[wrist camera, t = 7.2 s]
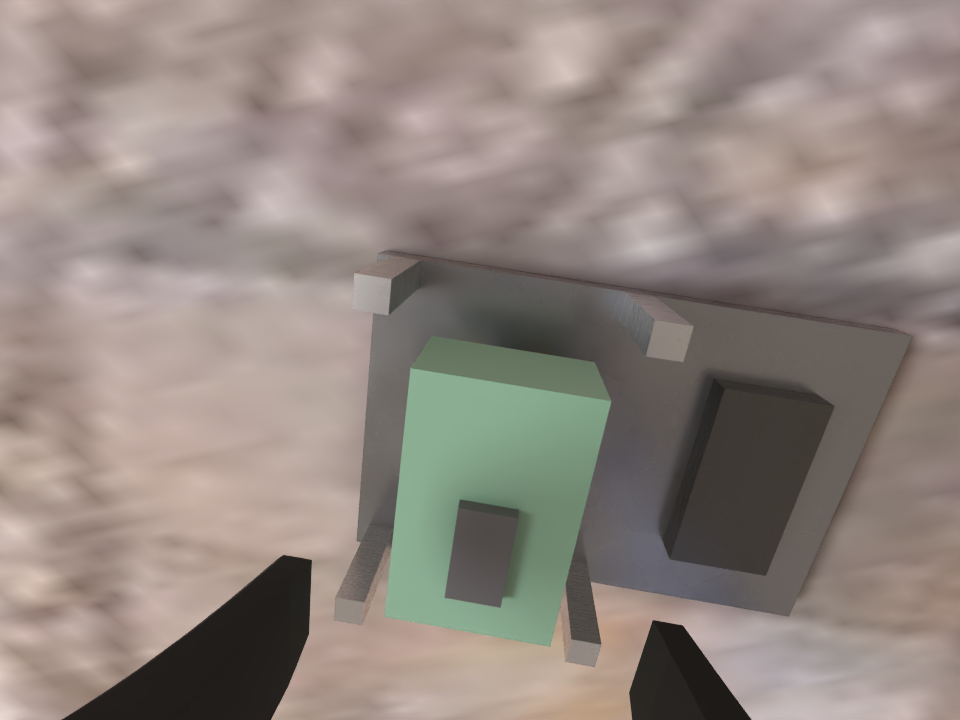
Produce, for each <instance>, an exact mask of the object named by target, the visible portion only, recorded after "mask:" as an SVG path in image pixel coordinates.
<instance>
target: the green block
mask: <svg viewBox="0 0 960 720" xmlns="http://www.w3.org/2000/svg"><path fill="white" fill-rule="evenodd" d="M610 405H611V399H610V397H609V394H608V392H607V390H606V387H605V385H604V383H603V380H602V378H601V376H600V373H599V371H598V369H597V366H596V364H595V362H590V361H584V360H578V359H572V358H566V357H560V356H553V355H547V354H541V353H535V352H529V351H523V350H516V349H510V348H504V347H498V346H492V345H486V344H479V343H473V342H467V341H461V340H455V339H449V338H442V337H436V336H431V337H430V339H429V340H428V342H427V344H426V345H425V347H424V348H423V350H422V351H421V353H420V354H419V356H418V357H417V359H416V361H415V362H414V364H413V365H412V367H411V369H410V378H409V388H408V397H407V407H406V416H405V426H404V436H403V445H402V455H401V464H400V474H399V483H398V493H397V503H396V512H395V522H394V531H393V541H392V550H391V560H390V570H389V579H388V589H387V598H386V608H385V617H389V618H394V619H400V620H405V621H411V622H416V623H422V624H427V625H433V626H438V627H444V628H449V629H455V630H460V631H466V632H472V633H477V634H483V635H488V636H494V637H499V638H505V639H510V640H516V641H521V642H527V643H532V644H538V645H543V646H549V647H550V645H551V641H552V637H553V633H554V629H555V625H556V621H557V617H558V613H559V609H560V605H561V601H562V597H563V593H564V589H565V585H566V581H567V577H568V573H569V569H570V565H571V561H572V557H573V553H574V549H575V545H576V541H577V537H578V533H579V529H580V525H581V521H582V517H583V513H584V509H585V505H586V501H587V497H588V493H589V489H590V485H591V481H592V477H593V473H594V469H595V465H596V461H597V457H598V453H599V449H600V445H601V441H602V437H603V433H604V429H605V425H606V421H607V417H608V413H609V409H610Z"/></svg>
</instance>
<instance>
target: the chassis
mask: <svg viewBox="0 0 960 720" xmlns="http://www.w3.org/2000/svg"><path fill="white" fill-rule="evenodd" d="M352 310H357V311H363V312H369V313H373V324H372V338H371V352H370V365H369V379H368V393H367V406H366V420H365V434H364V447H363V461H362V475H361V489H360V502H359V516H358V530H357V541H359V542H361V544H360V546H359V548H358V550H357V552H356V554H355V557H354V559H353V561H352V563H351V565H350V567H349V569H348V572H347V574H346V576H345V578H344V580H343V582H342V584H341V587H340V589H339V591H338V593H337V595H336V597H335V614H334V620H336V621H341V622H347V623H352V624H358V625H363V623H364V620H365V618H366V615H367V612H368V610H369V607H370V604H371V602H372V599H373V596H374V594H375V591H376V588H377V585H378V583H379V580H380V577H381V575H382V572H383V569H384V567H385V564H386V561H387V559H388V556H389V553H390V551H391V548H392V541H393V531H394V522H395V512H396V503H397V493H398V483H399V474H400V464H401V455H402V445H403V436H404V426H405V416H406V407H407V397H408V388H409V378H410V369H411V367H412V365H413V364H414V362H415V361H416V359H417V357H418V356H419V354H420V353H421V351H422V350H423V348H424V347H425V345H426V344H427V342H428V340H429V339H430V337H431V336H436V337H442V338H449V339H455V340H461V341H467V342H473V343H479V344H486V345H492V346H498V347H504V348H510V349H516V350H523V351H529V352H535V353H541V354H547V355H553V356H560V357H566V358H572V359H578V360H584V361H590V362H595V364H596V366H597V369H598V371H599V373H600V376H601V378H602V380H603V383H604V385H605V387H606V390H607V392H608V394H609V397H610V399H611V405H610V409H609V413H608V417H607V421H606V425H605V429H604V433H603V437H602V441H601V445H600V449H599V453H598V457H597V461H596V465H595V469H594V473H593V477H592V481H591V485H590V489H589V493H588V497H587V501H586V505H585V509H584V513H583V517H582V521H581V525H580V529H579V533H578V537H577V541H576V545H575V549H574V553H573V557H572V561H571V565H570V569H569V573H568V577H567V581H566V585H565V589H564V593H563V597H562V601H561V605H560V607H561V618H562V629H563V640H564V651H565V662H569V663H575V664H581V665H586V666H592V667H595V665H596V661H597V658H598V655H599V651H600V648H601V640H600V634H599V628H598V623H597V617H596V611H595V605H594V600H593V594H592V588H591V582H594V583H600V584H606V585H612V586H617V587H623V588H629V589H635V590H640V591H646V592H652V593H657V594H663V595H669V596H675V597H680V598H686V599H692V600H698V601H703V602H709V603H715V604H721V605H726V606H732V607H738V608H744V609H749V610H755V611H761V612H767V613H772V614H778V615H784V616H789V615H790V613H791V611H792V608H793V606H794V604H795V602H796V599H797V597H798V595H799V592H800V590H801V588H802V586H803V583H804V581H805V579H806V577H807V574H808V572H809V570H810V568H811V565H812V563H813V561H814V558H815V556H816V554H817V552H818V549H819V547H820V545H821V543H822V540H823V538H824V536H825V533H826V531H827V529H828V527H829V524H830V522H831V520H832V518H833V515H834V513H835V511H836V509H837V506H838V504H839V502H840V499H841V497H842V495H843V493H844V490H845V488H846V486H847V484H848V481H849V479H850V477H851V475H852V472H853V470H854V468H855V465H856V463H857V461H858V459H859V456H860V454H861V452H862V450H863V447H864V445H865V443H866V440H867V438H868V436H869V434H870V431H871V429H872V427H873V425H874V422H875V420H876V418H877V416H878V413H879V411H880V409H881V406H882V404H883V402H884V400H885V397H886V395H887V393H888V391H889V388H890V386H891V384H892V382H893V379H894V377H895V375H896V372H897V370H898V368H899V366H900V363H901V361H902V359H903V357H904V354H905V352H906V350H907V347H908V345H909V343H910V341H911V338H912V336H910V335H908V334H905V333H902V332H900V331H897V330H894V329H891V328H885V327H878V326H872V325H865V324H859V323H852V322H846V321H839V320H833V319H826V318H820V317H813V316H807V315H801V314H794V313H788V312H781V311H775V310H768V309H762V308H755V307H749V306H742V305H736V304H729V303H723V302H716V301H710V300H703V299H697V298H690V297H684V296H677V295H671V294H664V293H658V292H651V291H645V290H638V289H632V288H625V287H619V286H613V285H606V284H600V283H593V282H587V281H580V280H574V279H567V278H561V277H554V276H548V275H541V274H535V273H528V272H522V271H515V270H509V269H502V268H496V267H489V266H483V265H476V264H470V263H463V262H457V261H450V260H444V259H437V258H431V257H425V256H418V255H412V254H405V253H399V252H392V251H386V250H385V251H383V252H380V253H378V256H377V263H376V264H373V265H371V266H369V267H367V268H365V269H363V270H361V271H358V272H356V273H355V274H354V291H353V308H352Z"/></svg>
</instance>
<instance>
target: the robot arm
mask: <svg viewBox="0 0 960 720" xmlns="http://www.w3.org/2000/svg"><path fill="white" fill-rule="evenodd" d="M311 565H312V560H309V559H303V558H298V557H292V556H286V555H283V556H282V557H280V558H278V559H277V560H276V561H275V562H274V563H273V564H271V565H270V566H269V567H268V568H267V569H265V570H264V571H263V572H262V573H261V574H260V575H258V576H257V577H256V578H255V579H254V580H252V581H251V582H250V583H249V584H248V585H247V586H245V587H244V588H243V589H242V590H241V591H239V592H238V593H237V594H236V595H235V596H233V597H232V598H231V599H230V600H228V601H227V602H226V603H225V604H224V605H222V606H221V607H220V608H219V609H217V610H216V611H215V612H214V613H212V614H211V615H210V616H208V617H207V618H206V619H205V620H203V621H202V622H201V623H200V624H198V625H197V626H196V627H195V628H193V629H192V630H191V631H190V632H188V633H187V634H186V635H184V636H183V637H182V638H180V639H179V640H178V641H176V642H175V643H174V644H172V645H171V646H169V647H168V648H167V649H165V650H164V651H163V652H161V653H160V654H159V655H157V656H156V657H154V658H153V659H152V660H150V661H149V662H148V663H146V664H145V665H143V666H142V667H141V668H139V669H138V670H137V671H135V672H134V673H132V674H131V675H129V676H128V677H126V678H125V679H123V680H122V681H121V682H119V683H118V684H116V685H115V686H113V687H112V688H110V689H109V690H107V691H106V692H104V693H103V694H101V695H100V696H98V697H97V698H95V699H93V700H92V701H90V702H89V703H87V704H86V705H84V706H83V707H81V708H80V709H78V710H76V711H75V712H73V713H72V714H70V715H69V716H67V717H65V718H64V719H62V720H271V718H272V716H273V714H274V713H275V711H276V709H277V707H278V705H279V703H280V701H281V699H282V697H283V695H284V693H285V691H286V689H287V687H288V685H289V683H290V680H291V678H292V675H293V673H294V670H295V668H296V666H297V663H298V661H299V658H300V655H301V653H302V650H303V648H304V645H305V643H306V640H307V638H308V635H309V617H310V591H311ZM629 694H630V703H631V712H632V720H751V718H750V717H749V716H748V714H747V713H746V712H745V710H744V709H743V708H742V706H741V705H740V704H739V702H738V701H737V700H736V698H735V697H734V696H733V694H732V693H731V692H730V690H729V689H728V687H727V686H726V685H725V683H724V682H723V681H722V679H721V678H720V676H719V675H718V674H717V672H716V671H715V670H714V668H713V667H712V665H711V664H710V663H709V661H708V660H707V658H706V657H705V656H704V654H703V653H702V651H701V650H700V649H699V647H698V646H697V644H696V643H695V642H694V640H693V639H692V638H691V636H690V635H689V633H688V632H687V631H686V629H685V628H684V627H683V625H677V624H671V623H666V622H660V621H654V620H653V622H652V625H651V628H650V631H649V634H648V637H647V640H646V643H645V646H644V649H643V652H642V655H641V658H640V661H639V664H638V667H637V671H636V674H635V677H634V680H633V683H632V686H631V689H630V692H629Z"/></svg>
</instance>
